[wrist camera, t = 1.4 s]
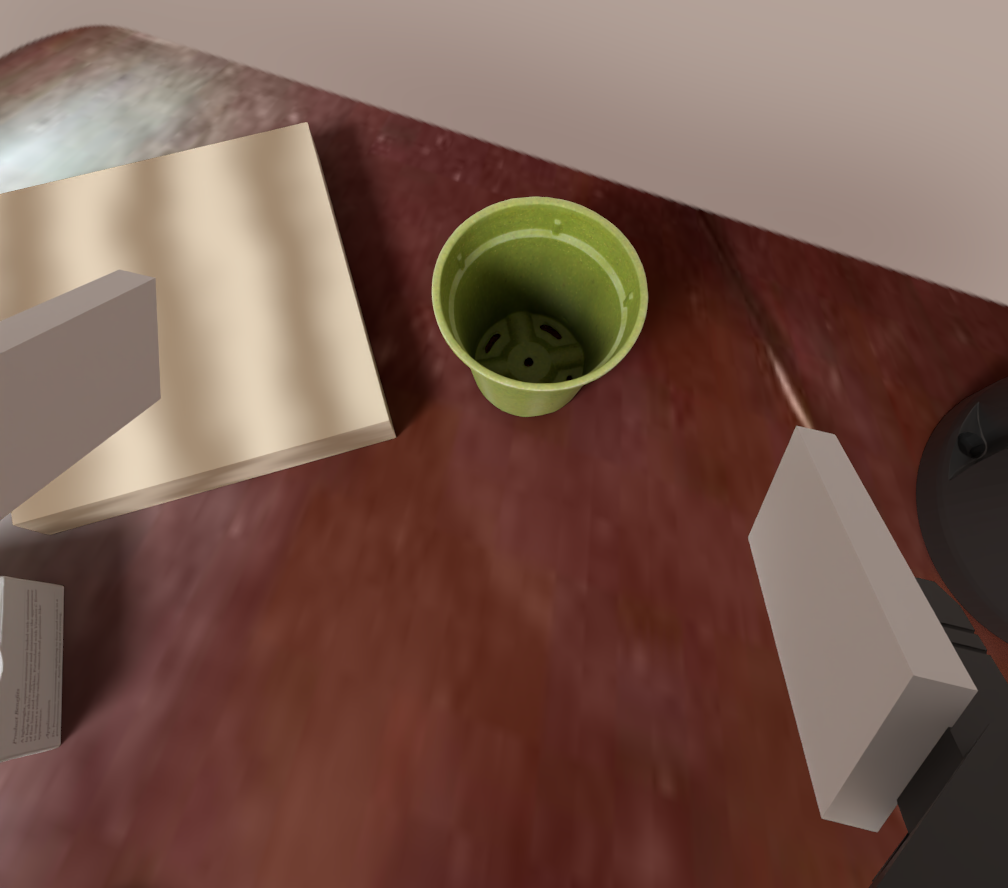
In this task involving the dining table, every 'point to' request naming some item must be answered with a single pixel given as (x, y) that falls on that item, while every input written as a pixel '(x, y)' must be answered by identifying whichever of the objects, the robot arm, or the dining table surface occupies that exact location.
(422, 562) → the dining table surface
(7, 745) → the small box
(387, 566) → the dining table surface
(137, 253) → the plinth
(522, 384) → the plant pot
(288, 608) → the dining table surface
